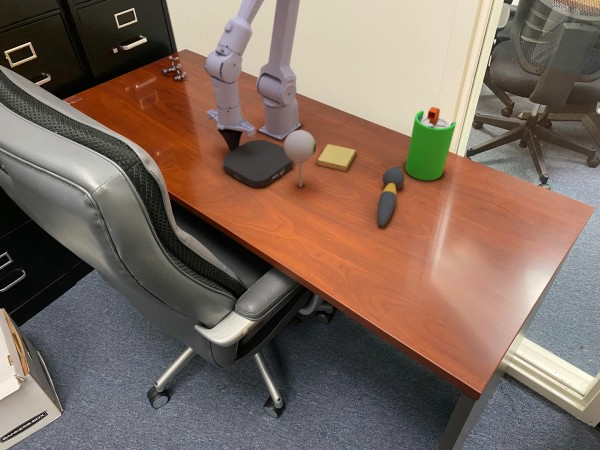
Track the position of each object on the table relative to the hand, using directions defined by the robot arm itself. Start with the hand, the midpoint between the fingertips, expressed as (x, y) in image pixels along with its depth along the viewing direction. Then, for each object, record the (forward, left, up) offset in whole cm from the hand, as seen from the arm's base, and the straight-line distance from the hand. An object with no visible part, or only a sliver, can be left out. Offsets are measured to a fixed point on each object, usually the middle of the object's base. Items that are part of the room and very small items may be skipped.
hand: (234, 150), depth 114 cm
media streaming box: (0, +8, -2) cm, 8 cm away
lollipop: (0, +22, -2) cm, 22 cm away
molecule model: (-21, -47, -2) cm, 52 cm away
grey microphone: (-8, +42, -2) cm, 42 cm away
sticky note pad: (-14, +23, -1) cm, 27 cm away
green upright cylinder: (-23, +43, -2) cm, 48 cm away
